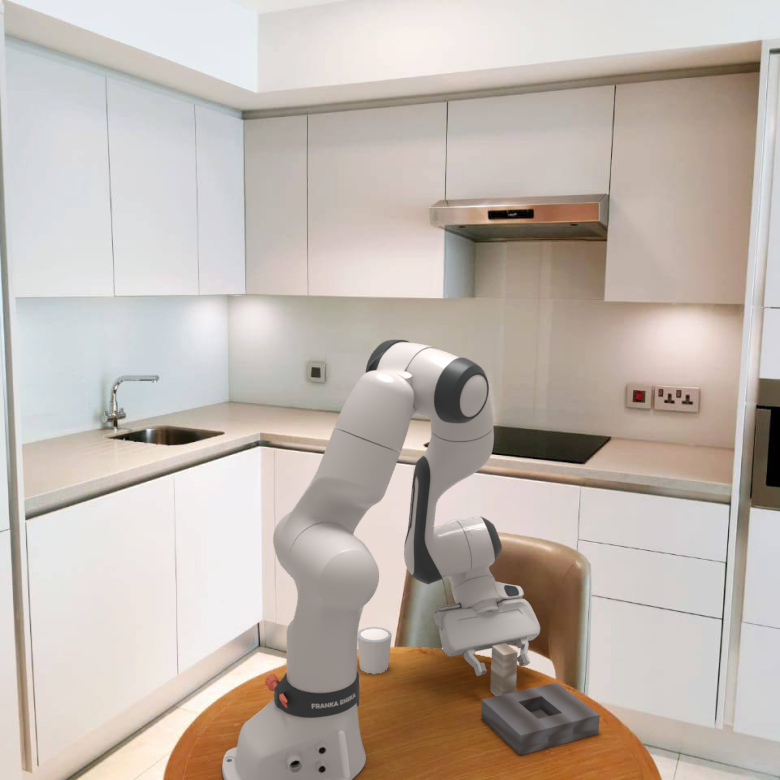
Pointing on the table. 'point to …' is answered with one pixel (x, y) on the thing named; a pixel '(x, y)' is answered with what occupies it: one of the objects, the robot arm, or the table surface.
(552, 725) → the slot holder
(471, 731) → the table surface
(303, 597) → the robot arm
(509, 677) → the peg
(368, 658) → the white cup
